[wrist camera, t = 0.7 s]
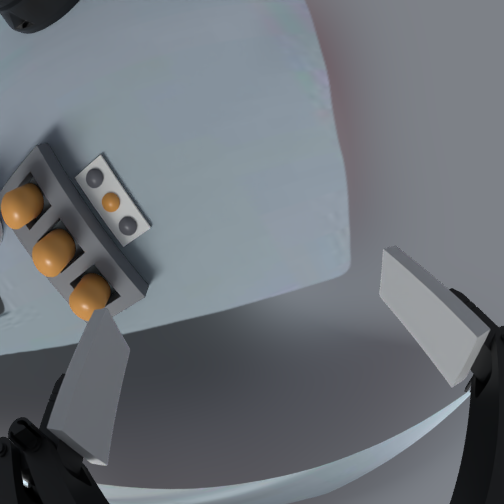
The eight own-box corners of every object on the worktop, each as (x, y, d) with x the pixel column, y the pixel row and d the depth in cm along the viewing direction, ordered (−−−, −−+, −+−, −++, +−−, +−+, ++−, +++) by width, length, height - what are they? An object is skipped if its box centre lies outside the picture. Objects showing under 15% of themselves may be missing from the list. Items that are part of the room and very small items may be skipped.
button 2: (14, 197, 27) (-4, 207, 23) (32, 175, 27) (13, 183, 23) (31, 224, 30) (14, 236, 26) (49, 204, 29) (32, 214, 25)
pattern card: (75, 177, 31) (74, 178, 30) (101, 154, 30) (100, 154, 30) (124, 245, 36) (123, 247, 35) (151, 226, 35) (150, 228, 35)
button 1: (74, 283, 34) (62, 300, 30) (95, 266, 34) (83, 283, 30) (96, 307, 36) (86, 326, 32) (117, 293, 36) (108, 312, 32)
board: (5, 194, 29) (-6, 199, 26) (48, 143, 28) (36, 145, 25) (98, 317, 40) (92, 329, 37) (148, 286, 39) (145, 297, 36)
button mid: (42, 240, 31) (26, 254, 27) (61, 221, 30) (45, 233, 26) (62, 267, 33) (48, 283, 29) (82, 250, 32) (68, 265, 28)
